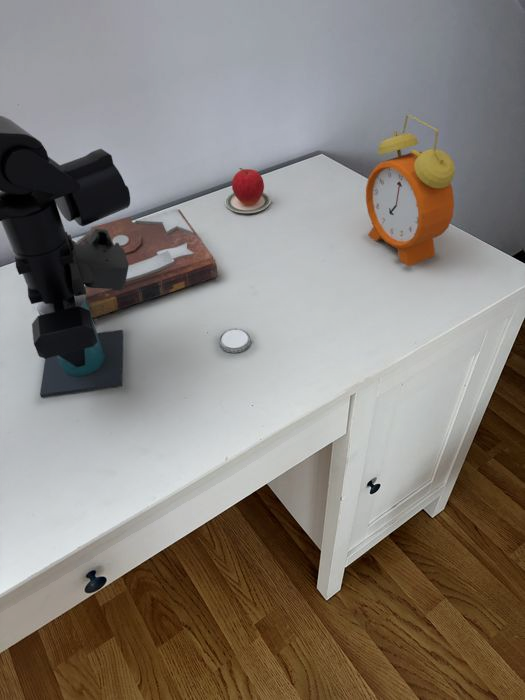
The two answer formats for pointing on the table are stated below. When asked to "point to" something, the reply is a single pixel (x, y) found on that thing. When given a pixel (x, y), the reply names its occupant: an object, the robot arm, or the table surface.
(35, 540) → the table surface
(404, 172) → the alarm clock
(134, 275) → the book
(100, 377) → the mat
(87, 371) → the can
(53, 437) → the table surface
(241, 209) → the apple
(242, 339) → the bottle cap
